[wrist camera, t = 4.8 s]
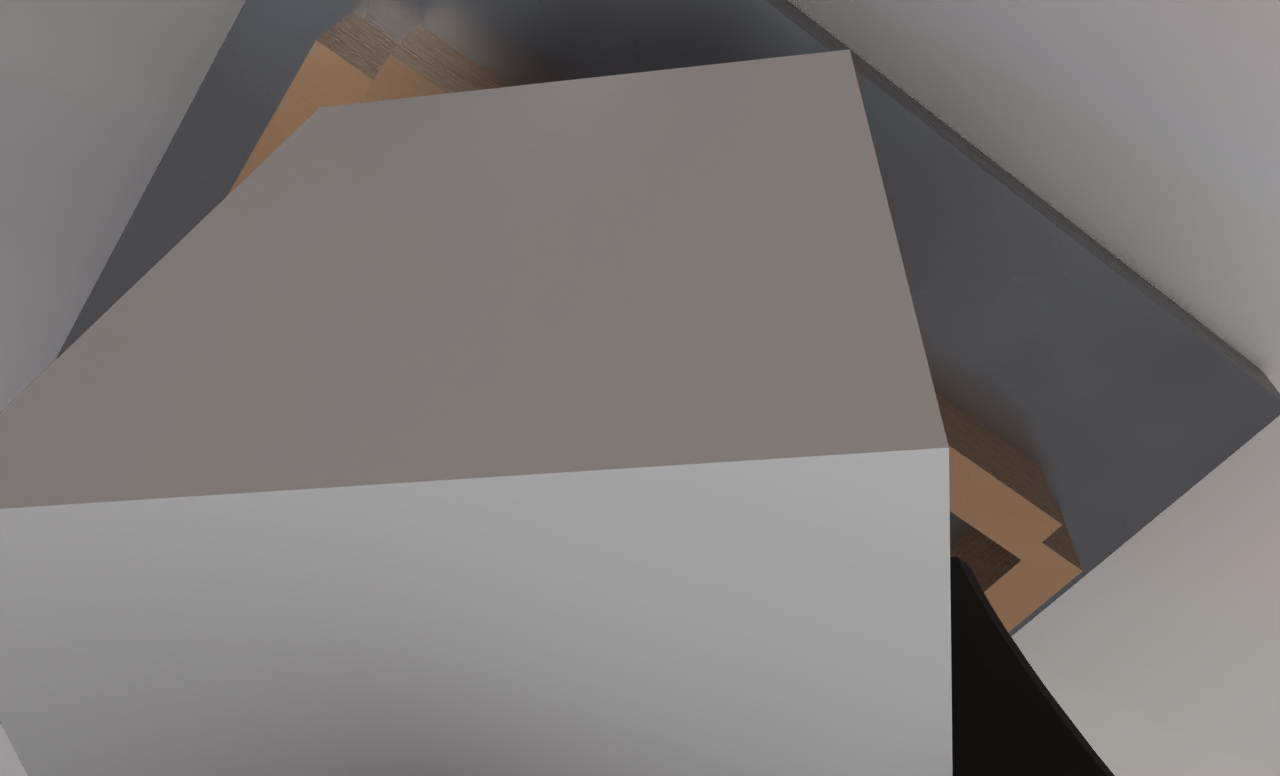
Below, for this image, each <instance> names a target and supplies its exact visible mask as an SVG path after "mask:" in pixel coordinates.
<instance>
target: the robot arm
mask: <svg viewBox="0 0 1280 776" xmlns="http://www.w3.org/2000/svg"><path fill="white" fill-rule="evenodd" d="M950 589H951V678H952V767H953V776H1114V774H1113V773H1112V772H1111V771H1110V770H1109V768H1108V767H1107V766H1106V765H1105V763H1104V762H1103V761H1102V760H1101V759H1100V757H1099V756H1098V755H1097V754H1096V752H1095V751H1094V750H1093V749H1092V747H1091V746H1090V745H1089V743H1088V742H1087V741H1086V739H1085V738H1084V737H1083V736H1082V734H1081V733H1080V732H1079V730H1078V729H1077V728H1076V726H1075V725H1074V724H1073V722H1072V721H1071V720H1070V719H1069V717H1068V716H1067V715H1066V713H1065V712H1064V711H1063V709H1062V708H1061V707H1060V706H1059V704H1058V703H1057V702H1056V700H1055V699H1054V698H1053V696H1052V695H1051V694H1050V692H1049V691H1048V690H1047V688H1046V687H1045V685H1044V684H1043V683H1042V681H1041V680H1040V678H1039V677H1038V676H1037V674H1036V673H1035V671H1034V670H1033V669H1032V667H1031V666H1030V664H1029V663H1028V661H1027V660H1026V658H1025V657H1024V655H1023V654H1022V652H1021V651H1020V649H1019V648H1018V646H1017V645H1016V643H1015V642H1014V640H1013V639H1012V638H1011V636H1010V635H1009V633H1008V631H1007V630H1006V628H1005V627H1004V625H1003V623H1002V622H1001V620H1000V619H999V617H998V616H997V614H996V612H995V611H994V609H993V607H992V606H991V604H990V602H989V601H988V599H987V597H986V595H985V594H984V592H983V590H982V588H981V586H980V585H979V583H978V581H977V579H976V577H975V575H974V573H973V571H972V569H971V567H970V566H968V565H967V564H966V563H965V562H963V561H962V560H961V559H960V558H958V557H950Z"/></svg>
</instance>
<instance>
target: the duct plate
mask: <svg viewBox="0 0 1280 776" xmlns="http://www.w3.org/2000/svg"><path fill="white" fill-rule="evenodd" d="M839 50H848V48H847V47H846V46H845V45H843V44H842V43H841V42H839V41H838V40H837V39H836V38H834V37H833V36H832V35H830V34H829V33H828V32H827V31H825V30H824V29H823V28H822V27H820V26H819V25H818V24H816V23H815V22H814V21H813V20H811V19H810V18H809V17H807V16H806V15H805V14H804V13H802V12H801V11H800V10H798V9H797V8H796V7H795V6H793V5H792V4H791V3H789V2H788V1H787V0H246V2H245V3H244V5H243V7H242V9H241V11H240V13H239V15H238V17H237V18H236V20H235V22H234V24H233V26H232V28H231V30H230V32H229V34H228V35H227V37H226V39H225V41H224V43H223V45H222V47H221V49H220V51H219V52H218V54H217V56H216V58H215V60H214V62H213V64H212V66H211V68H210V69H209V71H208V73H207V75H206V77H205V79H204V81H203V83H202V85H201V86H200V88H199V90H198V92H197V94H196V96H195V98H194V100H193V102H192V103H191V105H190V107H189V109H188V111H187V113H186V115H185V117H184V118H183V120H182V122H181V124H180V126H179V128H178V130H177V132H176V134H175V135H174V137H173V139H172V141H171V143H170V145H169V147H168V149H167V151H166V152H165V154H164V156H163V158H162V160H161V162H160V164H159V166H158V168H157V169H156V171H155V173H154V175H153V177H152V179H151V181H150V183H149V185H148V186H147V188H146V190H145V192H144V194H143V196H142V198H141V200H140V202H139V203H138V205H137V207H136V209H135V211H134V213H133V215H132V217H131V218H130V220H129V222H128V224H127V226H126V228H125V230H124V232H123V234H122V235H121V237H120V239H119V241H118V243H117V245H116V247H115V249H114V251H113V252H112V254H111V256H110V258H109V260H108V262H107V264H106V266H105V268H104V269H103V271H102V273H101V275H100V277H99V279H98V281H97V283H96V285H95V286H94V288H93V290H92V292H91V294H90V296H89V298H88V300H87V302H86V303H85V305H84V307H83V309H82V311H81V313H80V315H79V317H78V318H77V320H76V322H75V324H74V326H73V328H72V330H71V332H70V334H69V335H68V337H67V339H66V341H65V343H64V345H63V347H62V349H61V351H60V352H59V354H58V356H57V358H58V357H59V356H61V355H62V354H63V353H64V352H65V351H66V350H67V349H68V348H69V347H70V346H71V345H72V344H73V343H74V342H75V341H76V340H77V339H78V338H79V337H80V336H81V335H82V334H84V333H85V332H86V331H87V330H88V329H89V328H90V327H91V326H92V325H93V324H94V323H95V322H96V321H97V320H98V319H99V318H100V317H101V316H102V315H103V314H104V313H105V312H107V311H108V310H109V309H110V308H111V307H112V306H113V305H114V304H115V303H116V302H117V301H118V300H119V299H120V298H121V297H122V296H123V295H124V294H125V293H126V292H127V291H128V290H130V289H131V288H132V287H133V286H134V285H135V284H136V283H137V282H138V281H139V280H140V279H141V278H142V277H143V276H144V275H145V274H146V273H147V272H148V271H149V270H150V269H151V268H153V267H154V266H155V265H156V264H157V263H158V262H159V261H160V260H161V259H162V258H163V257H164V256H165V255H166V254H167V253H168V252H169V251H170V250H171V249H172V248H173V247H174V246H176V245H177V244H178V243H179V242H180V241H181V240H182V239H183V238H184V237H185V236H186V235H187V234H188V233H189V232H190V231H191V230H192V229H193V228H194V227H195V226H196V225H197V224H199V223H200V222H201V221H202V220H203V219H204V218H205V217H206V216H207V215H208V214H209V213H210V212H211V211H212V210H213V209H214V208H215V207H216V206H217V205H218V204H219V203H221V202H222V201H223V200H224V199H225V198H226V197H227V196H228V195H229V194H230V193H231V192H232V191H233V190H234V189H235V188H236V187H237V186H238V185H239V184H240V183H241V182H242V181H244V180H245V179H246V178H247V177H248V176H249V175H250V174H251V173H252V172H253V171H254V170H255V169H256V168H257V167H258V166H259V165H260V164H261V163H262V162H263V161H264V160H265V159H267V158H268V157H269V156H270V155H271V154H272V153H273V152H274V151H275V150H276V149H277V148H278V147H279V146H280V145H281V144H282V143H283V142H284V141H285V140H286V139H287V138H288V137H290V136H291V135H292V134H293V133H294V132H295V131H296V130H297V129H298V128H299V127H300V126H301V125H302V124H303V123H304V122H305V121H306V120H307V119H308V118H309V117H310V116H311V115H313V114H314V113H315V112H316V111H317V110H318V109H319V108H320V107H328V106H337V105H346V104H356V103H365V102H374V101H383V100H392V99H401V98H410V97H419V96H429V95H438V94H447V93H456V92H465V91H474V90H483V89H492V88H502V87H511V86H520V85H529V84H538V83H547V82H556V81H565V80H575V79H584V78H593V77H602V76H611V75H620V74H629V73H639V72H648V71H657V70H666V69H675V68H684V67H693V66H702V65H712V64H721V63H730V62H739V61H748V60H757V59H766V58H775V57H785V56H794V55H803V54H812V53H821V52H830V51H839ZM850 53H851V57H852V61H853V65H854V69H855V73H856V77H857V81H858V85H859V89H860V93H861V97H862V101H863V105H864V109H865V113H866V117H867V121H868V125H869V129H870V133H871V137H872V141H873V145H874V149H875V153H876V157H877V161H878V165H879V169H880V173H881V177H882V181H883V185H884V189H885V193H886V197H887V201H888V205H889V209H890V213H891V217H892V221H893V225H894V229H895V233H896V237H897V241H898V245H899V249H900V253H901V257H902V261H903V265H904V269H905V273H906V278H907V282H908V286H909V290H910V294H911V298H912V302H913V306H914V310H915V314H916V318H917V322H918V326H919V330H920V334H921V338H922V342H923V346H924V350H925V354H926V358H927V362H928V366H929V370H930V374H931V378H932V382H933V386H934V390H935V394H936V398H937V402H938V406H939V410H940V414H941V418H942V422H943V426H944V430H945V434H946V438H947V442H948V446H949V500H950V557H958V558H960V559H961V560H962V561H963V562H965V563H966V564H967V565H968V566H970V567H971V569H972V571H973V573H974V575H975V577H976V579H977V581H978V583H979V585H980V586H981V588H982V590H983V592H984V594H985V595H986V597H987V599H988V601H989V602H990V604H991V606H992V607H993V609H994V611H995V612H996V614H997V616H998V617H999V619H1000V620H1001V622H1002V623H1003V625H1004V627H1005V628H1006V630H1007V631H1008V633H1009V635H1010V636H1012V635H1014V634H1015V633H1016V632H1017V631H1018V630H1020V629H1021V628H1022V627H1023V626H1024V625H1026V624H1027V623H1028V622H1029V621H1031V620H1032V619H1033V618H1034V617H1035V616H1037V615H1038V614H1039V613H1040V612H1041V611H1043V610H1044V609H1045V608H1046V607H1048V606H1049V605H1050V604H1051V603H1052V602H1054V601H1055V600H1056V599H1057V598H1058V597H1060V596H1061V595H1062V594H1063V593H1064V592H1066V591H1067V590H1068V589H1069V588H1071V587H1072V586H1073V585H1074V584H1075V583H1077V582H1078V581H1079V580H1080V579H1081V578H1083V577H1084V576H1085V575H1086V574H1088V573H1089V572H1090V571H1091V570H1092V569H1094V568H1095V567H1096V566H1097V565H1098V564H1100V563H1101V562H1102V561H1103V560H1104V559H1106V558H1107V557H1108V556H1109V555H1111V554H1112V553H1113V552H1114V551H1115V550H1117V549H1118V548H1119V547H1120V546H1121V545H1123V544H1124V543H1125V542H1126V541H1128V540H1129V539H1130V538H1131V537H1132V536H1134V535H1135V534H1136V533H1137V532H1138V531H1140V530H1141V529H1142V528H1143V527H1144V526H1146V525H1147V524H1148V523H1149V522H1151V521H1152V520H1153V519H1154V518H1155V517H1157V516H1158V515H1159V514H1160V513H1161V512H1163V511H1164V510H1165V509H1166V508H1168V507H1169V506H1170V505H1171V504H1172V503H1174V502H1175V501H1176V500H1177V499H1178V498H1180V497H1181V496H1182V495H1183V494H1184V493H1186V492H1187V491H1188V490H1189V489H1191V488H1192V487H1193V486H1194V485H1195V484H1197V483H1198V482H1199V481H1200V480H1201V479H1203V478H1204V477H1205V476H1206V475H1208V474H1209V473H1210V472H1211V471H1212V470H1214V469H1215V468H1216V467H1217V466H1218V465H1220V464H1221V463H1222V462H1223V461H1224V460H1226V459H1227V458H1228V457H1229V456H1231V455H1232V454H1233V453H1234V452H1235V451H1237V450H1238V449H1239V448H1240V447H1241V446H1243V445H1244V444H1245V443H1246V442H1248V441H1249V440H1250V439H1251V438H1252V437H1254V436H1255V435H1256V434H1257V433H1258V432H1260V431H1261V430H1262V429H1263V428H1264V427H1266V426H1267V425H1268V424H1269V423H1271V422H1272V421H1273V420H1274V419H1275V418H1277V417H1278V416H1279V415H1280V394H1279V392H1278V391H1277V390H1276V388H1275V387H1274V386H1273V384H1272V383H1271V382H1270V380H1269V379H1268V377H1267V376H1266V375H1265V373H1263V372H1262V371H1261V370H1260V369H1258V368H1257V367H1256V366H1254V365H1253V364H1252V363H1251V362H1249V361H1248V360H1247V359H1246V358H1244V357H1243V356H1242V355H1240V354H1239V353H1238V352H1237V351H1235V350H1234V349H1233V348H1231V347H1230V346H1229V345H1228V344H1226V343H1225V342H1224V341H1222V340H1221V339H1220V338H1219V337H1217V336H1216V335H1215V334H1214V333H1212V332H1211V331H1210V330H1208V329H1207V328H1206V327H1205V326H1203V325H1202V324H1201V323H1199V322H1198V321H1197V320H1196V319H1194V318H1193V317H1192V316H1190V315H1189V314H1188V313H1187V312H1185V311H1184V310H1183V309H1181V308H1180V307H1179V306H1178V305H1176V304H1175V303H1174V302H1173V301H1171V300H1170V299H1169V298H1167V297H1166V296H1165V295H1164V294H1162V293H1161V292H1160V291H1158V290H1157V289H1156V288H1155V287H1153V286H1152V285H1151V284H1149V283H1148V282H1147V281H1146V280H1144V279H1143V278H1142V277H1140V276H1139V275H1138V274H1137V273H1135V272H1134V271H1133V270H1132V269H1130V268H1129V267H1128V266H1126V265H1125V264H1124V263H1123V262H1121V261H1120V260H1119V259H1117V258H1116V257H1115V256H1114V255H1112V254H1111V253H1110V252H1108V251H1107V250H1106V249H1105V248H1103V247H1102V246H1101V245H1099V244H1098V243H1097V242H1096V241H1094V240H1093V239H1092V238H1091V237H1089V236H1088V235H1087V234H1085V233H1084V232H1083V231H1082V230H1080V229H1079V228H1078V227H1076V226H1075V225H1074V224H1073V223H1071V222H1070V221H1069V220H1067V219H1066V218H1065V217H1064V216H1062V215H1061V214H1060V213H1058V212H1057V211H1056V210H1055V209H1053V208H1052V207H1051V206H1050V205H1048V204H1047V203H1046V202H1044V201H1043V200H1042V199H1041V198H1039V197H1038V196H1037V195H1035V194H1034V193H1033V192H1032V191H1030V190H1029V189H1028V188H1026V187H1025V186H1024V185H1023V184H1021V183H1020V182H1019V181H1018V180H1016V179H1015V178H1014V177H1012V176H1011V175H1010V174H1009V173H1007V172H1006V171H1005V170H1003V169H1002V168H1001V167H1000V166H998V165H997V164H996V163H994V162H993V161H992V160H991V159H989V158H988V157H987V156H985V155H984V154H983V153H982V152H980V151H979V150H978V149H977V148H975V147H974V146H973V145H971V144H970V143H969V142H968V141H966V140H965V139H964V138H962V137H961V136H960V135H959V134H957V133H956V132H955V131H953V130H952V129H951V128H950V127H948V126H947V125H946V124H944V123H943V122H942V121H941V120H939V119H938V118H937V117H936V116H934V115H933V114H932V113H930V112H929V111H928V110H927V109H925V108H924V107H923V106H921V105H920V104H919V103H918V102H916V101H915V100H914V99H912V98H911V97H910V96H909V95H907V94H906V93H905V92H903V91H902V90H901V89H900V88H898V87H897V86H896V85H895V84H893V83H892V82H891V81H889V80H888V79H887V78H886V77H884V76H883V75H882V74H880V73H879V72H878V71H877V70H875V69H874V68H873V67H871V66H870V65H869V64H868V63H866V62H865V61H864V60H862V59H861V58H860V57H859V56H857V55H856V54H855V53H854V52H852V51H851V50H850ZM57 358H56V359H57Z"/></svg>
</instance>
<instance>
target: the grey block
mask: <svg viewBox="0 0 1280 776" xmlns="http://www.w3.org/2000/svg"><path fill="white" fill-rule="evenodd" d="M0 722H1V724H2V726H3V728H4V730H5V732H6V734H7V736H8V738H9V740H10V741H11V743H12V745H13V747H14V749H15V751H16V753H17V755H18V757H19V759H20V761H21V763H22V764H23V766H24V768H25V770H26V772H27V774H28V776H953V767H952V678H951V589H950V500H949V446H948V442H947V438H946V434H945V430H944V426H943V422H942V418H941V414H940V410H939V406H938V402H937V398H936V394H935V390H934V386H933V382H932V378H931V374H930V370H929V366H928V362H927V358H926V354H925V350H924V346H923V342H922V338H921V334H920V330H919V326H918V322H917V318H916V314H915V310H914V306H913V302H912V298H911V294H910V290H909V286H908V282H907V278H906V273H905V269H904V265H903V261H902V257H901V253H900V249H899V245H898V241H897V237H896V233H895V229H894V225H893V221H892V217H891V213H890V209H889V205H888V201H887V197H886V193H885V189H884V185H883V181H882V177H881V173H880V169H879V165H878V161H877V157H876V153H875V149H874V145H873V141H872V137H871V133H870V129H869V125H868V121H867V117H866V113H865V109H864V105H863V101H862V97H861V93H860V89H859V85H858V81H857V77H856V73H855V69H854V65H853V61H852V57H851V53H850V49H848V50H839V51H830V52H821V53H812V54H803V55H794V56H785V57H775V58H766V59H757V60H748V61H739V62H730V63H721V64H712V65H702V66H693V67H684V68H675V69H666V70H657V71H648V72H639V73H629V74H620V75H611V76H602V77H593V78H584V79H575V80H565V81H556V82H547V83H538V84H529V85H520V86H511V87H502V88H492V89H483V90H474V91H465V92H456V93H447V94H438V95H429V96H419V97H410V98H401V99H392V100H383V101H374V102H365V103H356V104H346V105H337V106H328V107H320V108H319V109H318V110H317V111H316V112H315V113H314V114H313V115H311V116H310V117H309V118H308V119H307V120H306V121H305V122H304V123H303V124H302V125H301V126H300V127H299V128H298V129H297V130H296V131H295V132H294V133H293V134H292V135H291V136H290V137H288V138H287V139H286V140H285V141H284V142H283V143H282V144H281V145H280V146H279V147H278V148H277V149H276V150H275V151H274V152H273V153H272V154H271V155H270V156H269V157H268V158H267V159H265V160H264V161H263V162H262V163H261V164H260V165H259V166H258V167H257V168H256V169H255V170H254V171H253V172H252V173H251V174H250V175H249V176H248V177H247V178H246V179H245V180H244V181H242V182H241V183H240V184H239V185H238V186H237V187H236V188H235V189H234V190H233V191H232V192H231V193H230V194H229V195H228V196H227V197H226V198H225V199H224V200H223V201H222V202H221V203H219V204H218V205H217V206H216V207H215V208H214V209H213V210H212V211H211V212H210V213H209V214H208V215H207V216H206V217H205V218H204V219H203V220H202V221H201V222H200V223H199V224H197V225H196V226H195V227H194V228H193V229H192V230H191V231H190V232H189V233H188V234H187V235H186V236H185V237H184V238H183V239H182V240H181V241H180V242H179V243H178V244H177V245H176V246H174V247H173V248H172V249H171V250H170V251H169V252H168V253H167V254H166V255H165V256H164V257H163V258H162V259H161V260H160V261H159V262H158V263H157V264H156V265H155V266H154V267H153V268H151V269H150V270H149V271H148V272H147V273H146V274H145V275H144V276H143V277H142V278H141V279H140V280H139V281H138V282H137V283H136V284H135V285H134V286H133V287H132V288H131V289H130V290H128V291H127V292H126V293H125V294H124V295H123V296H122V297H121V298H120V299H119V300H118V301H117V302H116V303H115V304H114V305H113V306H112V307H111V308H110V309H109V310H108V311H107V312H105V313H104V314H103V315H102V316H101V317H100V318H99V319H98V320H97V321H96V322H95V323H94V324H93V325H92V326H91V327H90V328H89V329H88V330H87V331H86V332H85V333H84V334H82V335H81V336H80V337H79V338H78V339H77V340H76V341H75V342H74V343H73V344H72V345H71V346H70V347H69V348H68V349H67V350H66V351H65V352H64V353H63V354H62V355H61V356H59V357H58V358H57V359H56V360H55V361H54V362H53V363H52V364H51V365H50V366H49V367H48V368H47V369H46V370H45V371H44V372H43V373H42V374H41V375H40V376H39V377H38V378H36V379H35V380H34V381H33V382H32V383H31V384H30V385H29V386H28V387H27V388H26V389H25V390H24V391H23V392H22V393H21V394H20V395H19V396H18V397H17V398H16V399H15V400H13V401H12V402H11V403H10V404H9V405H8V406H7V407H6V408H5V409H4V410H3V411H2V412H1V413H0Z"/></svg>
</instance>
